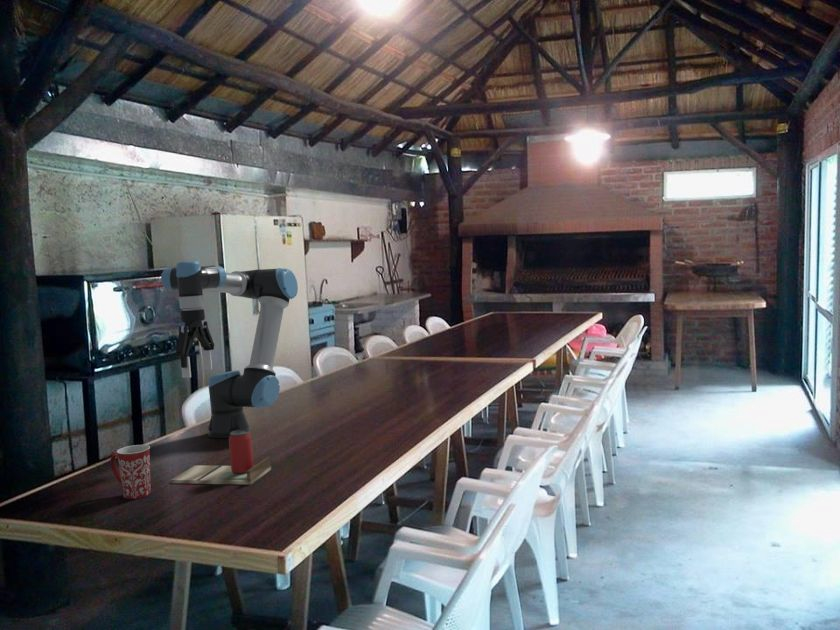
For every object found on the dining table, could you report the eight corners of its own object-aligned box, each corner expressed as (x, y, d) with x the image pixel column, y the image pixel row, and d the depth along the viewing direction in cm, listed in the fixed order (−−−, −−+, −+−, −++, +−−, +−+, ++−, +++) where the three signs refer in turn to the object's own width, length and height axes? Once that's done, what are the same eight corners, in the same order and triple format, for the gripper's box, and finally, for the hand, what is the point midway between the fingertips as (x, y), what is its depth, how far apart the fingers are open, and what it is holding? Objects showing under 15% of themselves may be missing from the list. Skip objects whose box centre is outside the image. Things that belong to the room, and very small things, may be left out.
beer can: (245, 466, 225) (242, 428, 224) (258, 469, 221) (255, 431, 220) (227, 472, 220) (223, 433, 219) (240, 475, 216) (236, 436, 215)
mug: (161, 490, 212) (157, 445, 210) (138, 501, 203) (134, 454, 202) (127, 487, 216) (123, 443, 215) (104, 498, 208) (99, 452, 207)
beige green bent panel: (170, 483, 218) (169, 470, 218) (195, 468, 232) (194, 456, 231) (251, 484, 212) (249, 471, 212) (271, 469, 226) (270, 456, 225)
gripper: (201, 305, 250) (206, 366, 252) (159, 313, 226) (166, 381, 228) (221, 304, 248) (226, 366, 250) (181, 312, 224) (188, 380, 226)
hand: (197, 373), depth 239 cm, fingers open, 13 cm apart
